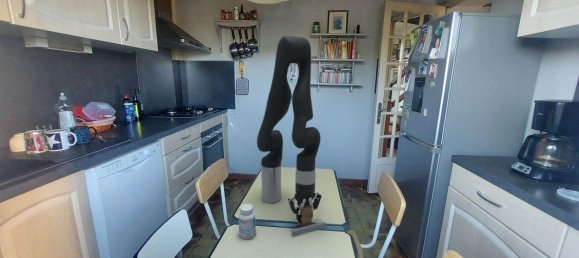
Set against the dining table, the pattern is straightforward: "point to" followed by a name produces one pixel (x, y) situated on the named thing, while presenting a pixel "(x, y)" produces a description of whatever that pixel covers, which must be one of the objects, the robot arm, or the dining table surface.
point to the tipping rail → (308, 228)
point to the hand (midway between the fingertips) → (304, 220)
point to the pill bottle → (247, 222)
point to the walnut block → (306, 216)
